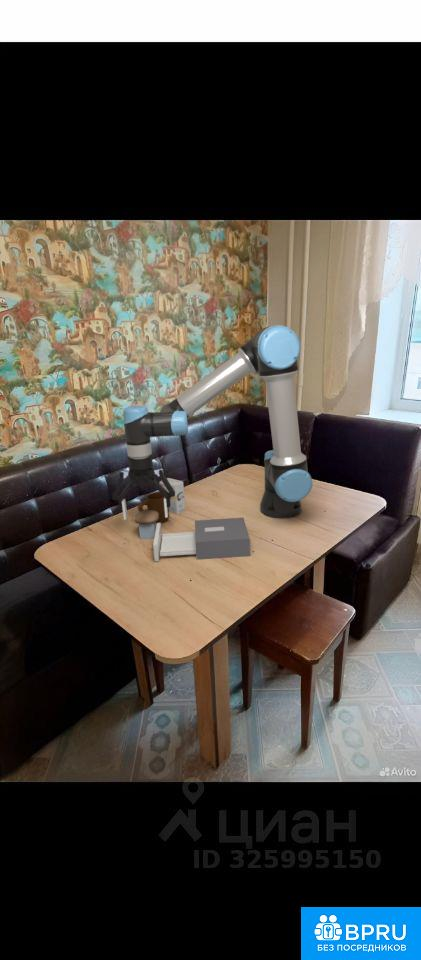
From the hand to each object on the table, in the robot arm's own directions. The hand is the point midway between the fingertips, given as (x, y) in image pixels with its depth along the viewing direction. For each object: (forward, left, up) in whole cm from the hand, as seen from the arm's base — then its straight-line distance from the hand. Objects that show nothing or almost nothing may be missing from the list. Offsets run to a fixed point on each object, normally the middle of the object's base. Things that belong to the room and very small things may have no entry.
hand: (146, 517), depth 135 cm
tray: (-11, +11, -6) cm, 17 cm away
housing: (-24, +10, -7) cm, 27 cm away
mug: (-1, -11, -7) cm, 13 cm away
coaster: (0, 0, -1) cm, 1 cm away
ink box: (-8, -21, -7) cm, 23 cm away
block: (0, 0, -7) cm, 7 cm away
